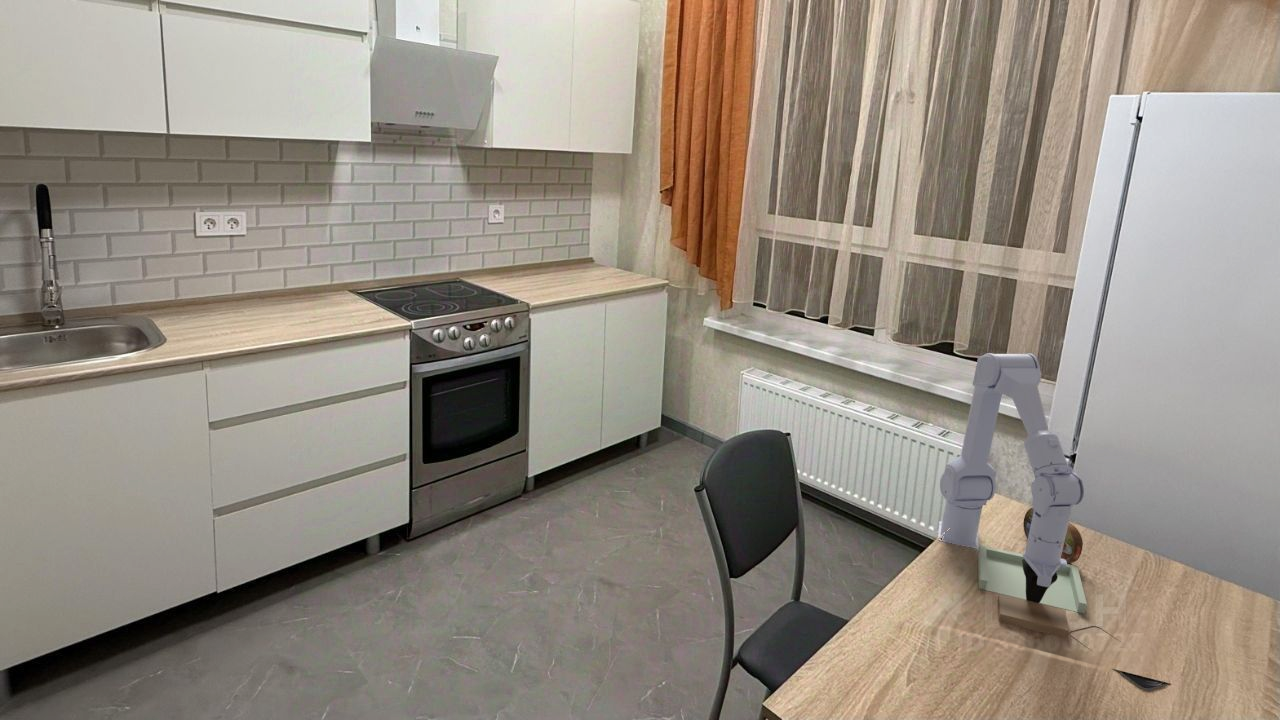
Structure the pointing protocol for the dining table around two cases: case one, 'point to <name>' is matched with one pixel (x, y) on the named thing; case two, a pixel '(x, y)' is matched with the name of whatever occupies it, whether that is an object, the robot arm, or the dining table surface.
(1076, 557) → the tin
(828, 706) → the dining table surface
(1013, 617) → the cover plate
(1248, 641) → the dining table surface
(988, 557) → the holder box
